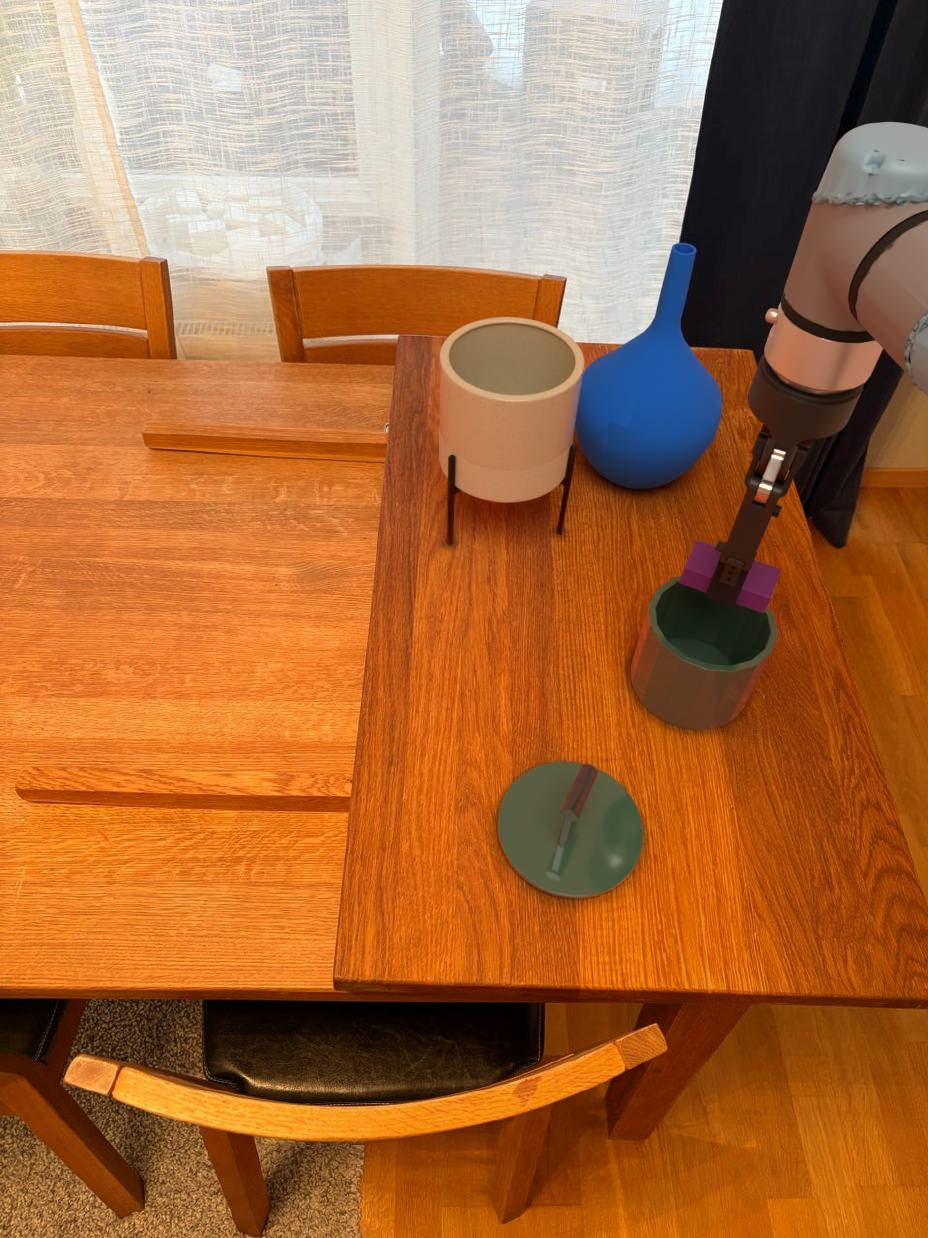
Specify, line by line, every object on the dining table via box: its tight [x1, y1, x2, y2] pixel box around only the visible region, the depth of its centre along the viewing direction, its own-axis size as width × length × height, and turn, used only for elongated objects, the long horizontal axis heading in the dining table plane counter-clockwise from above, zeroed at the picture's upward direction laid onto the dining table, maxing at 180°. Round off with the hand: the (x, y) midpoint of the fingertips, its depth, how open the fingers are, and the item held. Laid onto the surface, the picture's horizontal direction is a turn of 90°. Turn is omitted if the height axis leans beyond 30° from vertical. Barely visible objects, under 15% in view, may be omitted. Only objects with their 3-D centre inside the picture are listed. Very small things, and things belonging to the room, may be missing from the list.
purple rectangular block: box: [680, 539, 782, 613], centre depth 79 cm, size 8×4×2 cm, turn 64°
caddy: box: [630, 574, 779, 731], centre depth 88 cm, size 12×12×10 cm
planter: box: [438, 316, 585, 546], centre depth 99 cm, size 15×16×23 cm
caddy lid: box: [496, 761, 644, 900], centre depth 77 cm, size 14×14×8 cm
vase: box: [574, 242, 723, 490], centre depth 103 cm, size 18×18×30 cm
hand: (727, 581), depth 80 cm, fingers closed on purple rectangular block, 4 cm apart
